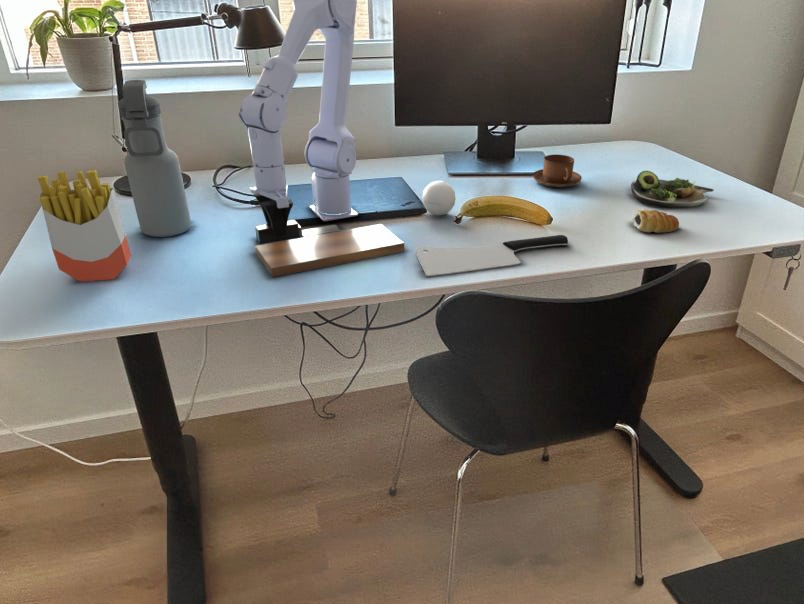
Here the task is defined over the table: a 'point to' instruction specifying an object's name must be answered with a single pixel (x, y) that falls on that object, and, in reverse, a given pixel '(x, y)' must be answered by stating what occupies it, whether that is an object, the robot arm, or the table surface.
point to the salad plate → (667, 191)
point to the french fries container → (84, 227)
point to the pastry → (655, 221)
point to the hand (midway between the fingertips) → (277, 231)
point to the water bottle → (152, 165)
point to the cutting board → (328, 249)
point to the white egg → (438, 198)
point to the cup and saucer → (557, 172)
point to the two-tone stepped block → (290, 231)
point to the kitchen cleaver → (480, 255)
